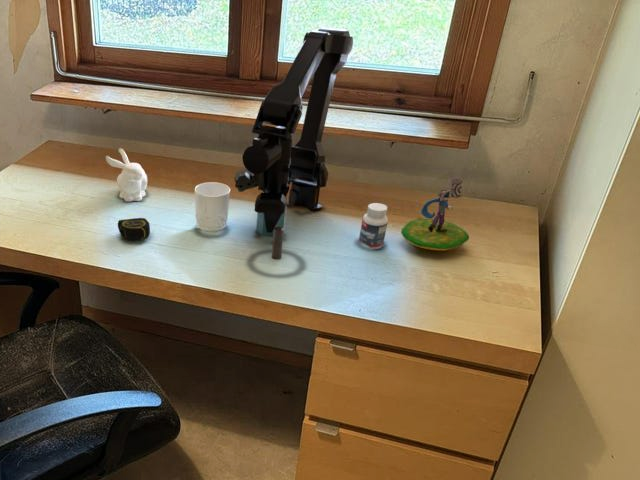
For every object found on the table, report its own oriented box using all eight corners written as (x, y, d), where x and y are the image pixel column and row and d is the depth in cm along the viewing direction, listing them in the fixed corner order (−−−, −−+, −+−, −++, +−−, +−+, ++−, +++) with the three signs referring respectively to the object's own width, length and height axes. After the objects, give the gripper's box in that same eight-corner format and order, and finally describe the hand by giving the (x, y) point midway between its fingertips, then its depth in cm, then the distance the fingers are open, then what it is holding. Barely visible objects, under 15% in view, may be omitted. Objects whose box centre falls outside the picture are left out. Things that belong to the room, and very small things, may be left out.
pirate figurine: (398, 256, 146) (412, 189, 137) (398, 229, 156) (411, 166, 147) (467, 263, 143) (486, 195, 134) (463, 236, 153) (480, 171, 144)
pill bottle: (353, 243, 151) (359, 205, 146) (368, 236, 154) (375, 199, 148) (372, 252, 148) (379, 214, 143) (388, 245, 150) (395, 207, 145)
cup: (273, 224, 158) (276, 196, 153) (289, 235, 153) (292, 206, 149) (251, 230, 156) (253, 201, 151) (266, 241, 151) (269, 211, 147)
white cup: (226, 239, 154) (228, 197, 148) (191, 236, 155) (191, 195, 149) (230, 224, 160) (232, 183, 154) (197, 221, 162) (197, 180, 155)
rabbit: (144, 205, 169) (142, 157, 162) (106, 204, 170) (103, 157, 163) (150, 185, 179) (149, 140, 172) (114, 184, 180) (111, 139, 173)
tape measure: (147, 229, 159) (146, 214, 156) (152, 243, 153) (152, 227, 151) (118, 232, 158) (117, 217, 156) (122, 246, 152) (121, 230, 150)
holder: (282, 246, 151) (285, 213, 146) (313, 268, 143) (317, 233, 138) (239, 258, 147) (241, 224, 142) (269, 281, 139) (272, 246, 134)
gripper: (244, 140, 153) (240, 205, 162) (232, 172, 138) (228, 242, 148) (294, 143, 151) (288, 209, 160) (287, 176, 136) (281, 246, 146)
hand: (270, 225), depth 153 cm, fingers closed on cup, 6 cm apart
